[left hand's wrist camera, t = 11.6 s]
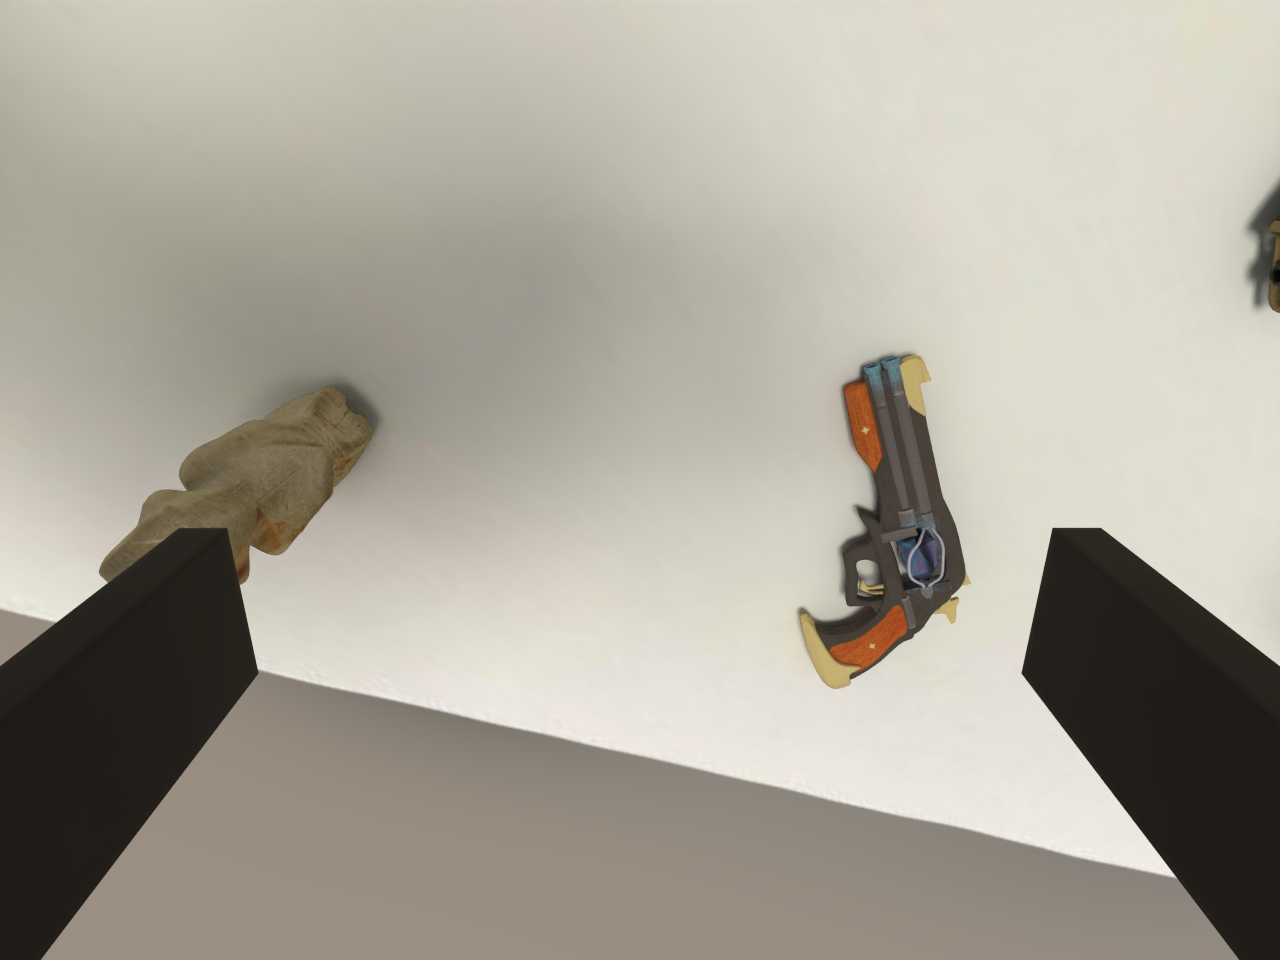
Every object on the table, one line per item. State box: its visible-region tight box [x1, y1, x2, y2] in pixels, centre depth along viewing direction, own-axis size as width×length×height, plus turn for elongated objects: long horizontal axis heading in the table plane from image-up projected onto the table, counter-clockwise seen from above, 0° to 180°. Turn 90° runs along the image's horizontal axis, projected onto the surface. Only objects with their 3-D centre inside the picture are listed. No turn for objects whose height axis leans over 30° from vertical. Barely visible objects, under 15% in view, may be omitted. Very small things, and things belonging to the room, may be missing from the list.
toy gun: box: [800, 355, 970, 689], centre depth 45 cm, size 3×19×10 cm
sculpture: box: [99, 385, 373, 585], centre depth 36 cm, size 6×7×15 cm
